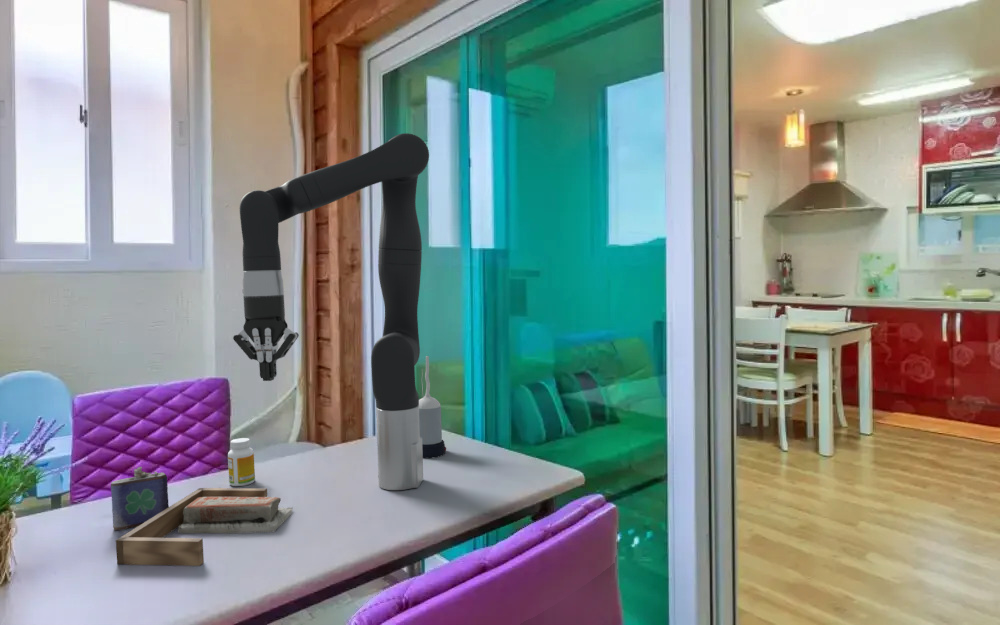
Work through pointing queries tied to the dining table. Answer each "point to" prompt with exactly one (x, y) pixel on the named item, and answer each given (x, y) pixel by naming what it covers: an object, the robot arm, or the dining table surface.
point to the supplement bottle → (241, 463)
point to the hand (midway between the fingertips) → (268, 380)
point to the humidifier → (430, 422)
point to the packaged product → (233, 515)
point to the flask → (138, 498)
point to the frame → (148, 537)
